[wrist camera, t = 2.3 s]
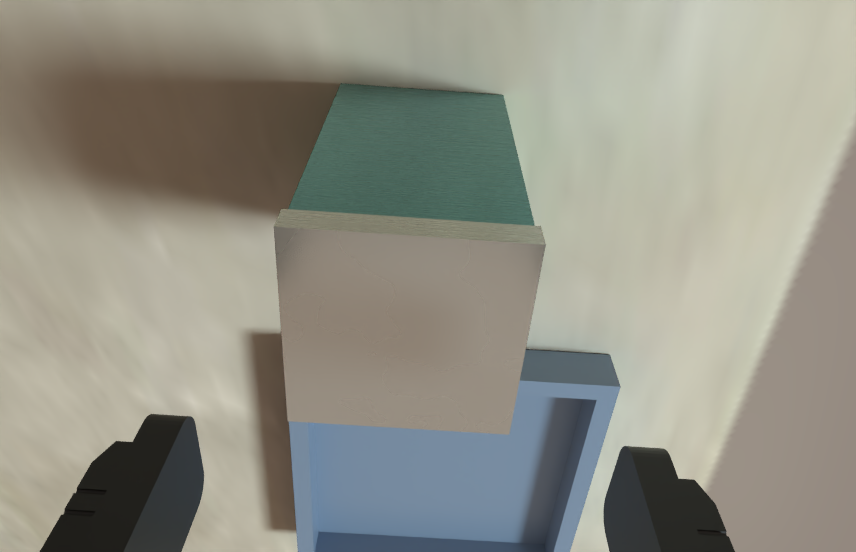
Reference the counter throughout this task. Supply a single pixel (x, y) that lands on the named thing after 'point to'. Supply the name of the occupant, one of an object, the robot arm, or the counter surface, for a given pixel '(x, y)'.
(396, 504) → the tray
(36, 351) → the counter surface
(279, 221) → the tea tin
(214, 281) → the counter surface
